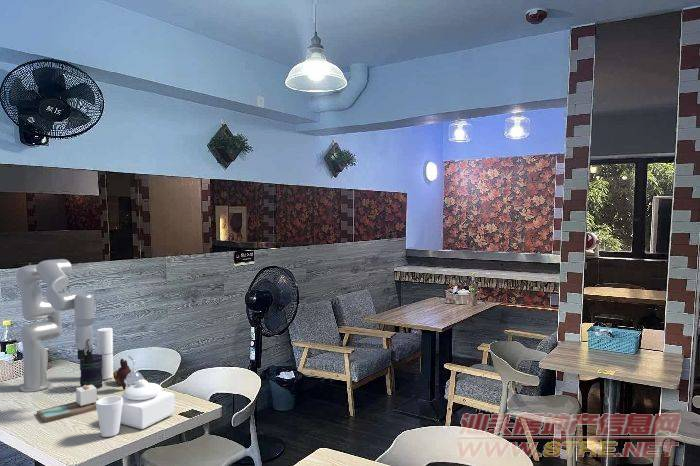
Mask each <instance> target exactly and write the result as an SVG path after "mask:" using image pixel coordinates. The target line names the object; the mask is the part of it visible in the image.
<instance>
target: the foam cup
mask: <svg viewBox="0 0 700 466" xmlns="http://www.w3.org/2000/svg"><path fill="white" fill-rule="evenodd" d="M121 396H122V395H108V396H104V397H101V398H97V399H98V400H97V401H96V410H95V411H96V412H97V418H98V423H99V430H100V436H101V437H103V438H107V437H113V436H116V435H118V433H120V427H121V423H120V421H121V413H122V405H123V397H121Z"/></svg>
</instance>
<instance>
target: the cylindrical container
mask: <svg viewBox="0 0 700 466" xmlns="http://www.w3.org/2000/svg"><path fill="white" fill-rule="evenodd" d="M96 331H97V332H96V333H97V334H96V335H97V337H96V339H97V340H96V341H97V342H96V343H97V345H96V346H97V351H96V352H97V354H100V355H102V365H103V366H102V376H103V377H102V378H103V380H109V379H111V378H114V376H113V373H114V344H113V343H114V340H113V339H114V336H113V331H114V329H113V328H112V327H101V328H98V329H97V330H96Z"/></svg>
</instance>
